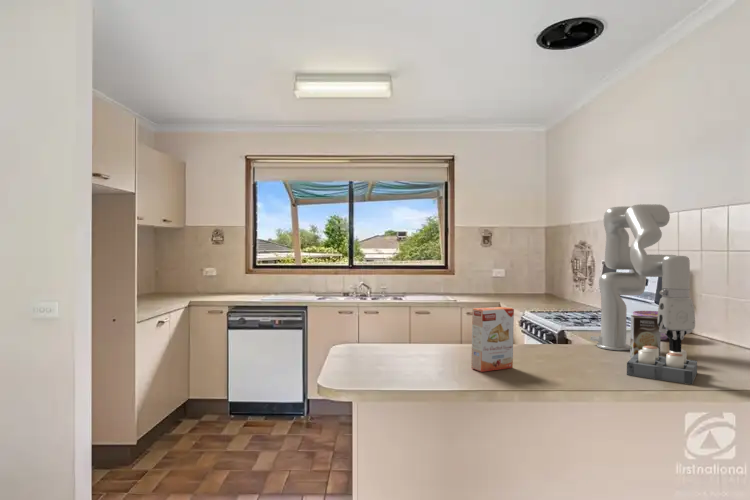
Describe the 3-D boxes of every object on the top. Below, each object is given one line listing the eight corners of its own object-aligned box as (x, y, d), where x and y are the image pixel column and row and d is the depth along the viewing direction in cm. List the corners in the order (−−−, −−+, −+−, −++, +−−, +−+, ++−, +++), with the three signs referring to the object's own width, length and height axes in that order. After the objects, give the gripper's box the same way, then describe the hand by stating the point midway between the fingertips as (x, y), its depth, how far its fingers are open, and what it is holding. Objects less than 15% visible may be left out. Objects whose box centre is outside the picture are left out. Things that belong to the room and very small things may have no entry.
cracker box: (482, 373, 160) (482, 310, 160) (470, 368, 165) (471, 307, 165) (514, 368, 166) (514, 307, 166) (502, 364, 172) (502, 305, 172)
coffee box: (632, 360, 179) (633, 317, 179) (629, 356, 185) (630, 315, 185) (660, 362, 176) (661, 318, 176) (656, 358, 182) (657, 316, 182)
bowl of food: (641, 341, 216) (641, 315, 216) (626, 333, 236) (626, 310, 236) (690, 343, 213) (690, 317, 213) (670, 335, 233) (670, 311, 233)
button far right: (668, 366, 160) (668, 350, 160) (670, 363, 164) (670, 347, 164) (685, 368, 157) (685, 352, 157) (687, 365, 161) (687, 349, 161)
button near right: (665, 370, 154) (665, 354, 154) (667, 367, 158) (667, 351, 158) (683, 373, 151) (683, 356, 151) (684, 370, 155) (684, 353, 155)
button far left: (641, 362, 165) (641, 347, 165) (643, 359, 169) (643, 344, 169) (657, 364, 162) (657, 348, 162) (659, 362, 166) (659, 346, 166)
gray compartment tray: (626, 374, 158) (626, 362, 158) (636, 364, 173) (636, 353, 173) (692, 384, 147) (692, 371, 147) (696, 372, 162) (697, 360, 162)
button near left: (637, 366, 159) (637, 350, 159) (639, 364, 163) (639, 348, 163) (653, 369, 156) (653, 352, 156) (656, 366, 160) (656, 350, 160)
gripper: (662, 295, 150) (662, 354, 150) (706, 295, 152) (705, 353, 152) (646, 293, 157) (645, 349, 157) (687, 292, 159) (687, 348, 159)
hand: (675, 351), depth 154 cm, fingers closed
